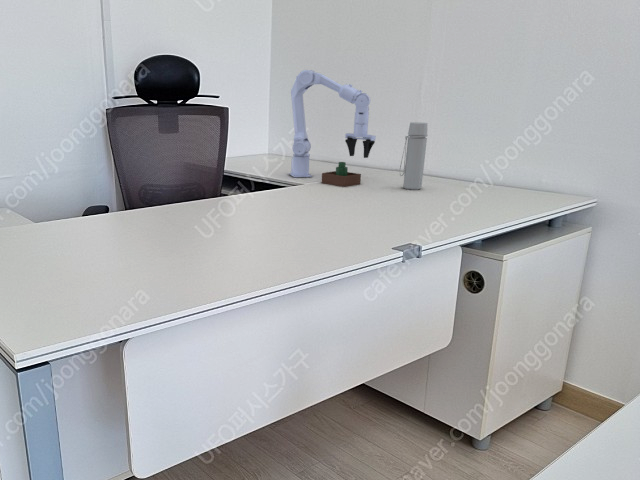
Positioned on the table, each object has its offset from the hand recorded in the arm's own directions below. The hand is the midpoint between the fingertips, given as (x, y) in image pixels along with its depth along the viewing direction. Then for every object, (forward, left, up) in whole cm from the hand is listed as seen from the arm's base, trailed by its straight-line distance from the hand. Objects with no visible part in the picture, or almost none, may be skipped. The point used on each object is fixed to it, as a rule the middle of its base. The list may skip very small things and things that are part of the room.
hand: (358, 156), depth 253 cm
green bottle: (+10, -11, -9) cm, 17 cm away
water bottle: (+26, +12, -10) cm, 30 cm away
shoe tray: (+10, -11, -9) cm, 18 cm away
